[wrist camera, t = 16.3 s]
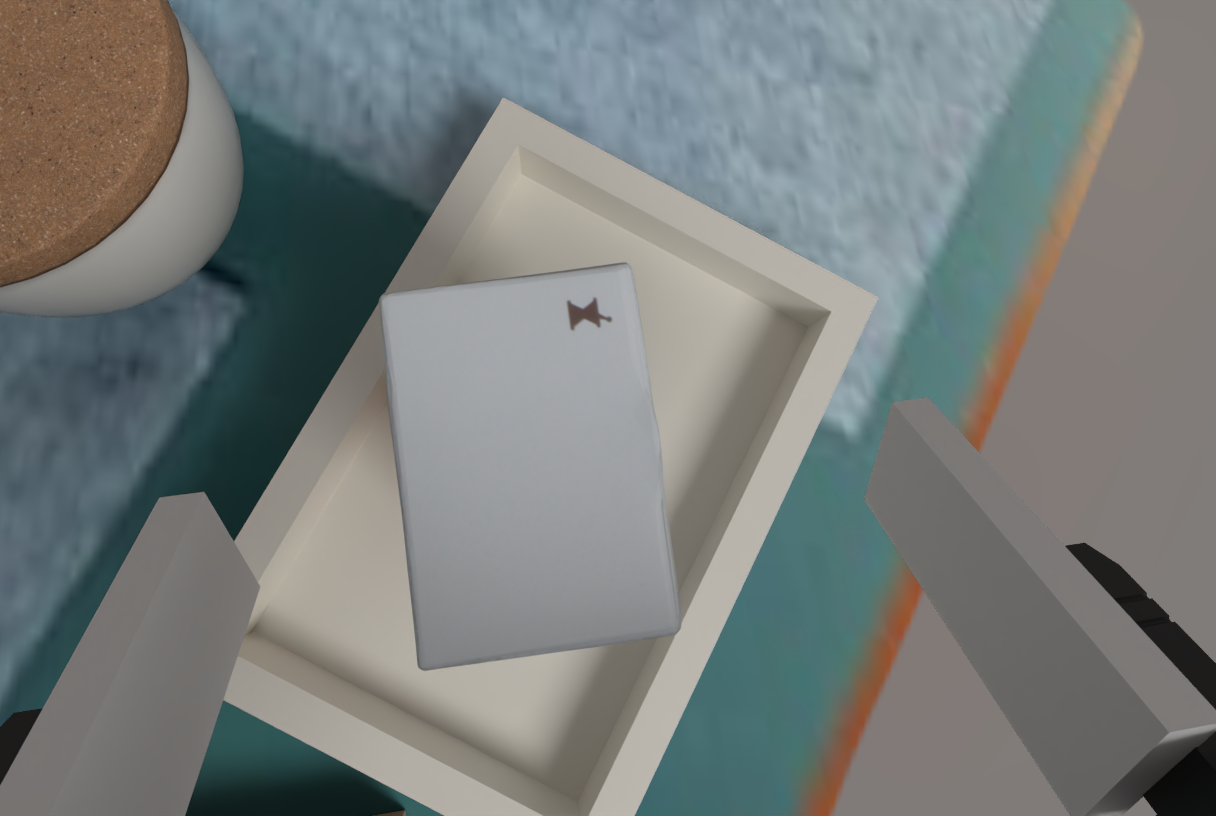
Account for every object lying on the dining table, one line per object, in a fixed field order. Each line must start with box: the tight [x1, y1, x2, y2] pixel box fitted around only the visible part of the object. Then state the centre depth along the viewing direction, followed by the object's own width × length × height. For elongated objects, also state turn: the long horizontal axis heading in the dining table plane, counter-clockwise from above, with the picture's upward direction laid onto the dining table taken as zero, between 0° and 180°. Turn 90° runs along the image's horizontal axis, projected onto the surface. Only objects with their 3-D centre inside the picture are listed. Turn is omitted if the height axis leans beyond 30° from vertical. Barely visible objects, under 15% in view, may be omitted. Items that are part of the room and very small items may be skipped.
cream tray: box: [223, 97, 878, 816], centre depth 21 cm, size 20×14×3 cm
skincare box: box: [379, 262, 682, 671], centre depth 16 cm, size 6×4×12 cm
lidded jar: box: [0, 0, 244, 317], centre depth 18 cm, size 11×11×9 cm
